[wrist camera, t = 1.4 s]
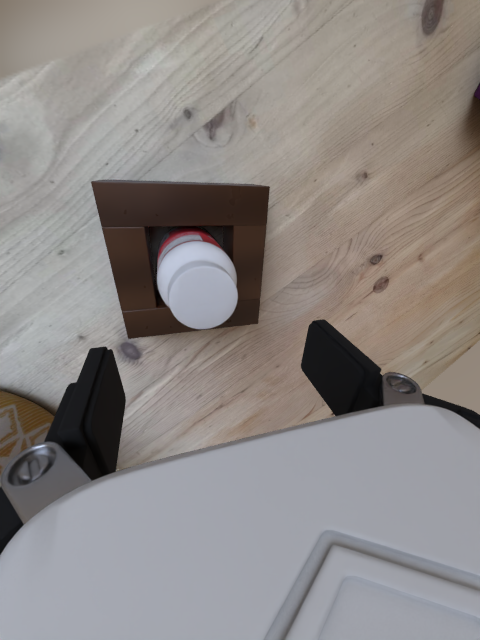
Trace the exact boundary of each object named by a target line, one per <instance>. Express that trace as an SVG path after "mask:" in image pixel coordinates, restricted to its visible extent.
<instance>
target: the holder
mask: <svg viewBox="0 0 480 640" xmlns="http://www.w3.org/2000/svg"><path fill="white" fill-rule="evenodd" d="M91 183H92V187H93V192H94V196H95V200H96V204H97V209H98V213H99V217H100V221H101V225H102V230H103V234H104V238H105V242H106V247H107V251H108V255H109V259H110V263H111V268H112V272H113V276H114V280H115V285H116V289H117V293H118V297H119V301H120V306H121V310H122V314H123V318H124V322H125V327H126V331H127V335H128V338H129V339H131V338H139V337H148V336H156V335H165V334H173V333H182V332H191V331H199V330H208V329H195V328H191V327H188V326H186V325H184V324H182V323H181V322H180V321H178V320H177V319H176V317H175V316H174V315H173V313H172V311H171V309H170V308H169V307H168V306H167V305H166V304H165V302H164V301H163V299H162V297H161V295H160V293H159V290H157V285H156V278H155V271H154V265H153V258H152V251H151V244H150V237H149V230H148V227H151V226H223V250H224V252H225V253H226V254H227V255H228V257H229V258H230V260H231V261H232V263H233V265H234V267H235V271H236V276H237V285H236V288H237V292H238V300H237V305H236V307H235V310H234V312H233V313H232V315H231V316H230V317H229V318H228V319H227V320H226V321H225V322H223V323H222V324H220V325H218V326H216V327H213V328H209V329H216V328H225V327H233V326H242V325H250V324H258V318H259V306H260V294H261V282H262V271H263V259H264V247H265V235H266V224H267V212H268V200H269V188H270V187H269V186H262V185H254V184H229V183H197V182H165V181H132V180H98V181H92V182H91Z"/></svg>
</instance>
